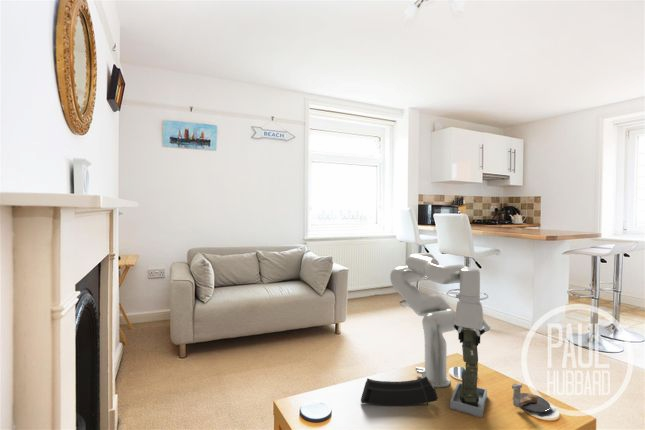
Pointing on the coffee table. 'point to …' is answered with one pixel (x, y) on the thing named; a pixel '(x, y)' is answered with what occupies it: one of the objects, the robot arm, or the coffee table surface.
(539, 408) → the crank base
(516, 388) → the crank
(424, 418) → the coffee table surface
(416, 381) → the magazine
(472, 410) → the tray
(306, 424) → the coffee table surface
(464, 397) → the mechanical leg
